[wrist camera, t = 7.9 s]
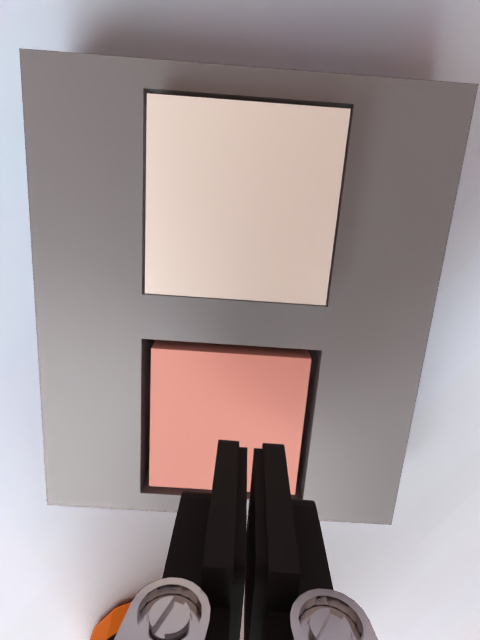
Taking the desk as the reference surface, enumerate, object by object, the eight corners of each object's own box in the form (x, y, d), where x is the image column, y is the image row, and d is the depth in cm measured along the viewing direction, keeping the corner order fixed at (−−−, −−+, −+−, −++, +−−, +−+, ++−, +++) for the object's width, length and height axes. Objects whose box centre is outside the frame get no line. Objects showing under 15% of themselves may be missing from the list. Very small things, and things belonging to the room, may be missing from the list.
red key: (301, 334, 16) (311, 358, 14) (287, 454, 18) (295, 494, 15) (163, 325, 16) (151, 348, 14) (160, 446, 18) (148, 485, 15)
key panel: (431, 104, 15) (478, 84, 12) (367, 472, 19) (391, 524, 16) (63, 75, 14) (19, 48, 12) (77, 455, 18) (47, 504, 16)
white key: (331, 122, 13) (350, 108, 11) (312, 287, 15) (325, 305, 12) (162, 109, 13) (146, 93, 11) (159, 276, 15) (145, 293, 12)
